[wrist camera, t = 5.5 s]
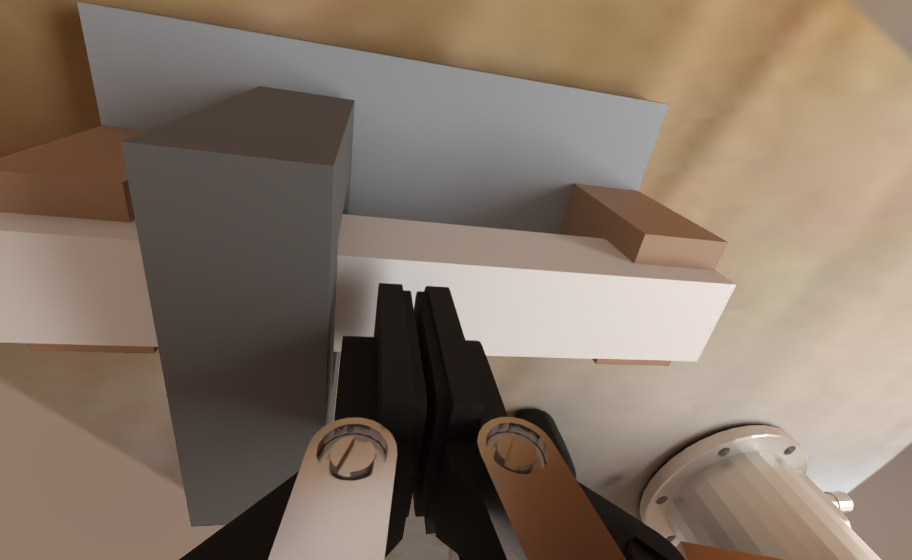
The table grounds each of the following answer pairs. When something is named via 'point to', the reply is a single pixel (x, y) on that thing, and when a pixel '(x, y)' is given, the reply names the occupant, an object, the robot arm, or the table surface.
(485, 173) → the pipe stand
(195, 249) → the collar
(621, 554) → the robot arm
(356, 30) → the table surface
